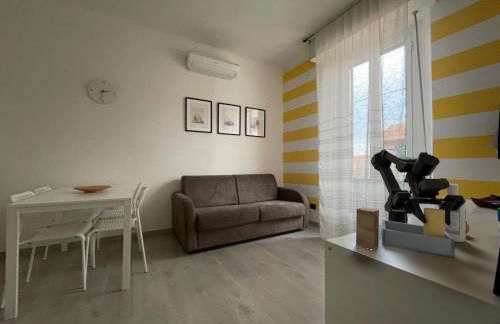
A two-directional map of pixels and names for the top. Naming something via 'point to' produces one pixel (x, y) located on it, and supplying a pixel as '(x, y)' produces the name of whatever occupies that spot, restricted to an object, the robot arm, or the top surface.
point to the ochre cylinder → (434, 222)
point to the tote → (416, 239)
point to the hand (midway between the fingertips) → (437, 223)
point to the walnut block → (367, 227)
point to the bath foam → (456, 218)
